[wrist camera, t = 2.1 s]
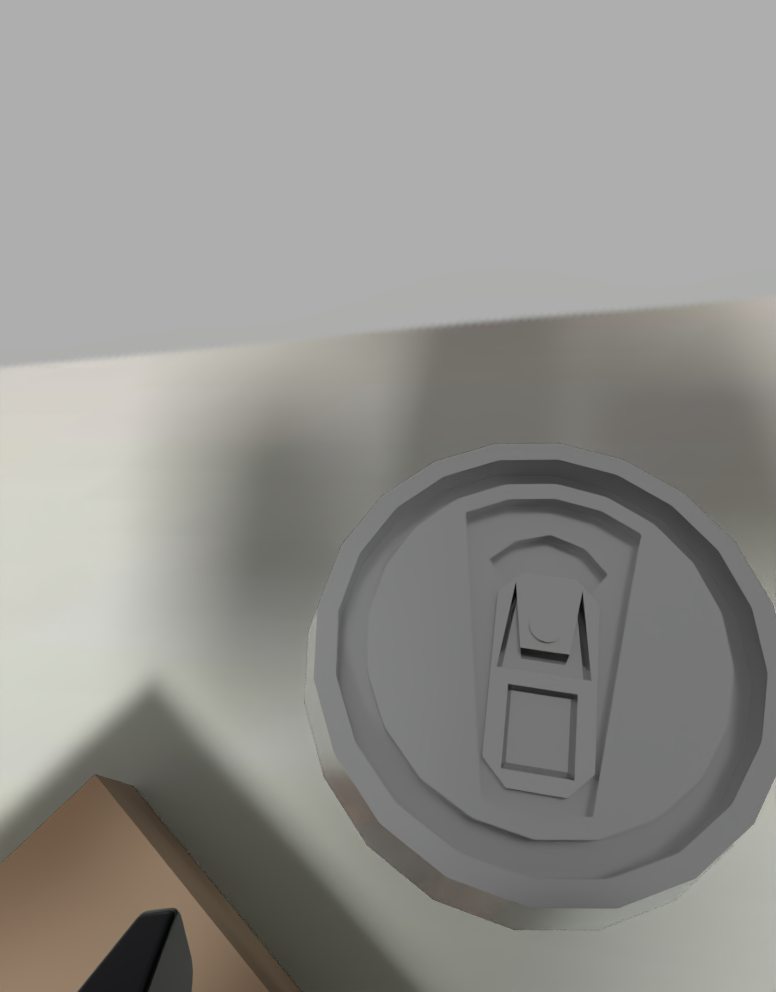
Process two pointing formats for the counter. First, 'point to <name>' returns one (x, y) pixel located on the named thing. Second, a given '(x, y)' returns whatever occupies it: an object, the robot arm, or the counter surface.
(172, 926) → the robot arm
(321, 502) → the counter surface
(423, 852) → the beer can
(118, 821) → the hole board
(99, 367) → the counter surface
